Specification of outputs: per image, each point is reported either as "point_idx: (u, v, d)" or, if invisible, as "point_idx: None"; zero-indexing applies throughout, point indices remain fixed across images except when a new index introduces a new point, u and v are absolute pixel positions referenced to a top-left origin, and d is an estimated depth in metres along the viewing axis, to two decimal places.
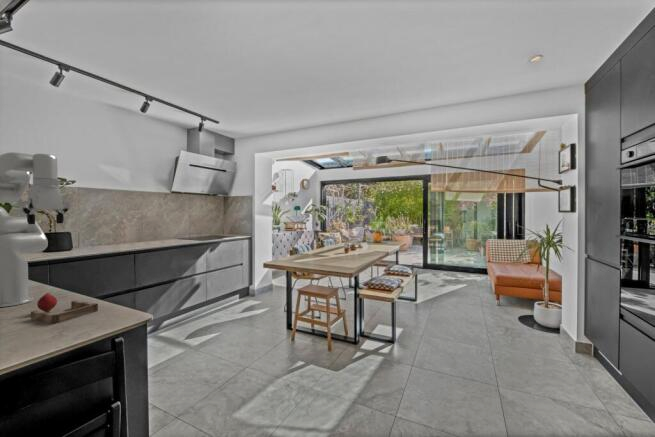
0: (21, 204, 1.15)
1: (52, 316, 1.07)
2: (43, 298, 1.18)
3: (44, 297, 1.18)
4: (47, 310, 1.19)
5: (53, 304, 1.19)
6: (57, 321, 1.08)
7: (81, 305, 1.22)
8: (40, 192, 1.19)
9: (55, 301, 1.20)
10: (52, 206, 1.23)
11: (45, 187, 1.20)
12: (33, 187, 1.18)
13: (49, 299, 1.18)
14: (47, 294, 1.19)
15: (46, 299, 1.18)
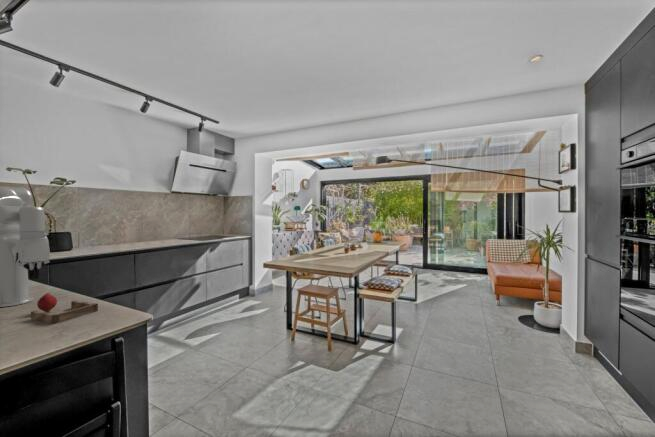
0: (18, 265, 1.17)
1: (52, 316, 1.07)
2: (43, 298, 1.18)
3: (44, 297, 1.18)
4: (47, 310, 1.19)
5: (53, 304, 1.19)
6: (57, 321, 1.08)
7: (81, 305, 1.22)
8: (27, 245, 1.18)
9: (55, 301, 1.20)
10: (39, 258, 1.22)
11: (32, 240, 1.20)
12: (19, 241, 1.17)
13: (49, 299, 1.18)
14: (47, 294, 1.19)
15: (46, 299, 1.18)
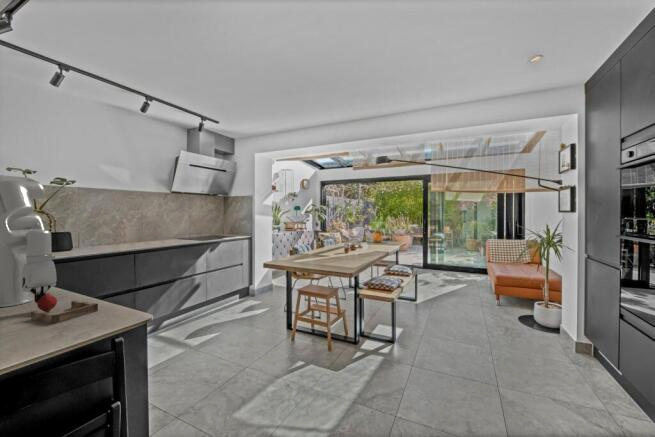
0: (25, 290, 1.16)
1: (52, 316, 1.07)
2: (43, 298, 1.18)
3: (44, 297, 1.18)
4: (47, 310, 1.19)
5: (53, 304, 1.19)
6: (57, 321, 1.08)
7: (81, 305, 1.22)
8: (34, 270, 1.17)
9: (55, 301, 1.20)
10: (46, 282, 1.21)
11: (39, 264, 1.19)
12: (26, 266, 1.16)
13: (49, 299, 1.18)
14: (47, 294, 1.19)
15: (46, 299, 1.18)
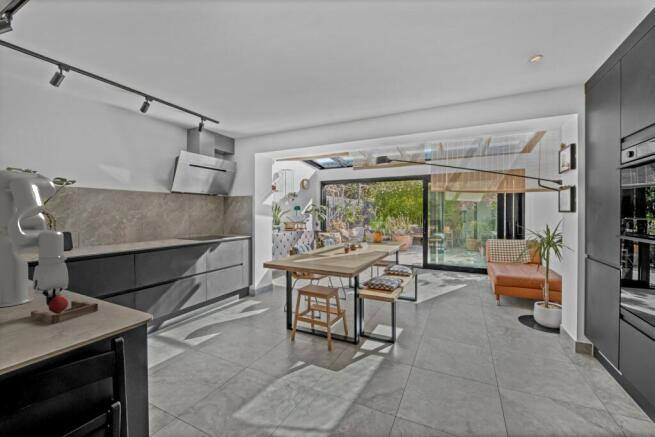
0: (37, 292, 1.14)
1: (52, 316, 1.07)
2: (54, 300, 1.15)
3: (55, 299, 1.16)
4: (58, 312, 1.16)
5: (63, 306, 1.17)
6: (57, 321, 1.08)
7: (81, 305, 1.22)
8: (46, 272, 1.15)
9: (66, 303, 1.18)
10: (58, 284, 1.19)
11: (51, 266, 1.16)
12: (38, 268, 1.14)
13: (59, 301, 1.16)
14: (58, 296, 1.17)
15: (56, 302, 1.15)
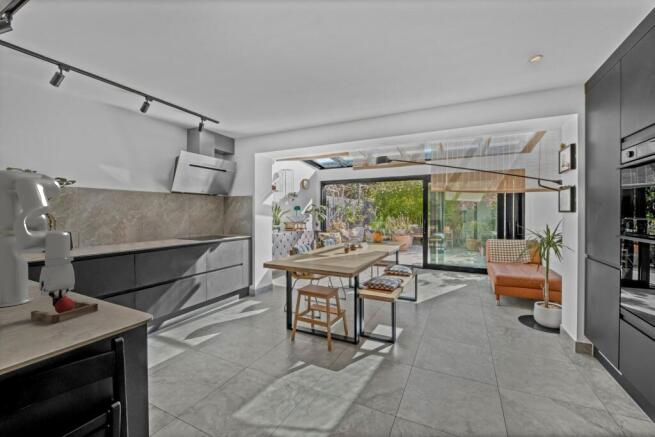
0: (44, 294, 1.13)
1: (52, 316, 1.07)
2: (60, 301, 1.14)
3: (61, 300, 1.14)
4: None
5: (70, 307, 1.15)
6: (57, 321, 1.08)
7: (81, 305, 1.22)
8: (53, 273, 1.14)
9: (72, 304, 1.16)
10: (64, 285, 1.18)
11: (58, 267, 1.15)
12: (45, 269, 1.13)
13: (66, 303, 1.14)
14: (64, 297, 1.15)
15: (63, 303, 1.14)
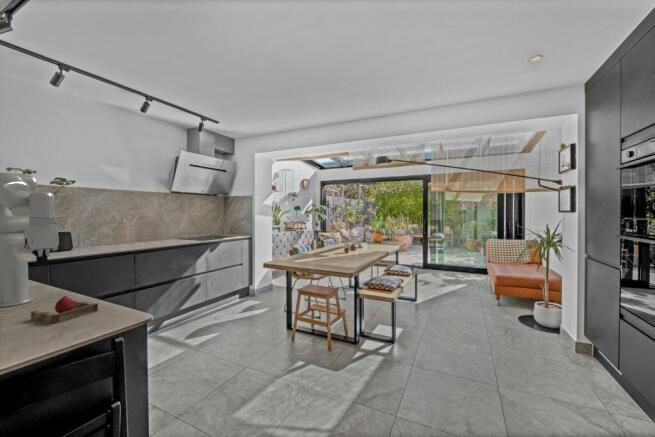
0: (27, 251, 1.15)
1: (52, 316, 1.07)
2: (60, 301, 1.14)
3: (61, 300, 1.14)
4: None
5: (70, 307, 1.15)
6: (57, 321, 1.08)
7: (81, 305, 1.22)
8: (36, 231, 1.16)
9: (72, 304, 1.16)
10: (48, 245, 1.20)
11: (41, 226, 1.18)
12: (29, 227, 1.15)
13: (66, 302, 1.14)
14: (65, 297, 1.15)
15: (63, 303, 1.14)
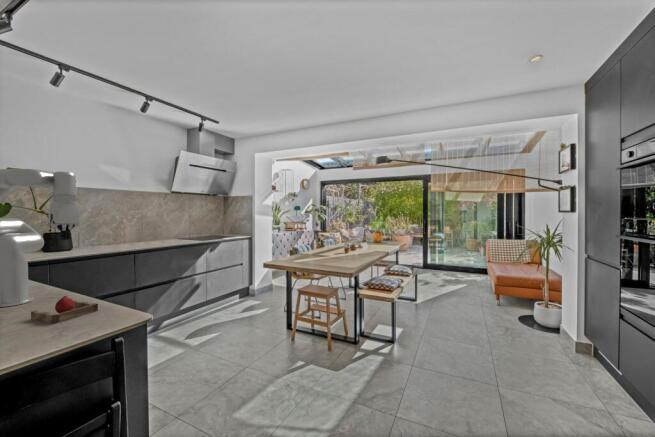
0: (53, 225, 1.26)
1: (52, 316, 1.07)
2: (60, 301, 1.14)
3: (61, 300, 1.14)
4: None
5: (70, 307, 1.15)
6: (57, 321, 1.08)
7: (81, 305, 1.22)
8: (61, 207, 1.27)
9: (72, 304, 1.16)
10: (71, 220, 1.31)
11: (65, 203, 1.29)
12: (54, 203, 1.26)
13: (66, 302, 1.14)
14: (65, 297, 1.15)
15: (63, 303, 1.14)
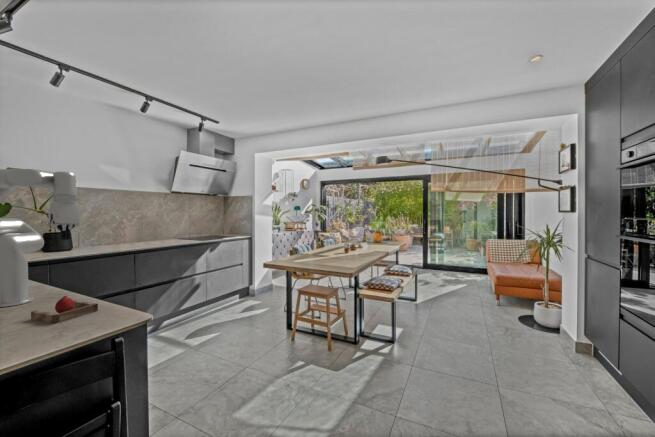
0: (53, 225, 1.26)
1: (52, 316, 1.07)
2: (60, 301, 1.14)
3: (61, 300, 1.14)
4: None
5: (70, 307, 1.15)
6: (57, 321, 1.08)
7: (81, 305, 1.22)
8: (61, 207, 1.27)
9: (72, 304, 1.16)
10: (71, 220, 1.31)
11: (65, 203, 1.29)
12: (54, 203, 1.26)
13: (66, 302, 1.14)
14: (65, 297, 1.15)
15: (63, 303, 1.14)
